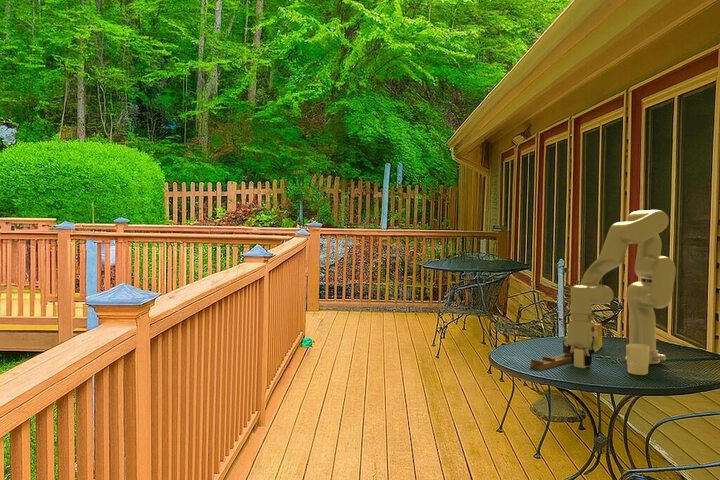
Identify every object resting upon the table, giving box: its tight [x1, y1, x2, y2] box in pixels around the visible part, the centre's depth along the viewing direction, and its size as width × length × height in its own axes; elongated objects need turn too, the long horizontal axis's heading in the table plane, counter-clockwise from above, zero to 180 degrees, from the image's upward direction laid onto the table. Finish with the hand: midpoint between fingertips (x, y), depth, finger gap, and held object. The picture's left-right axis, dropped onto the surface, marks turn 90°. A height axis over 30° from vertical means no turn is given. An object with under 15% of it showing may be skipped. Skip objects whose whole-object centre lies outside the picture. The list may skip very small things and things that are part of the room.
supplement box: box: [592, 322, 603, 351], centre depth 261 cm, size 6×6×11 cm
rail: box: [530, 336, 572, 371], centre depth 234 cm, size 5×29×9 cm, turn 128°
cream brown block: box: [573, 347, 590, 369], centre depth 228 cm, size 4×5×7 cm
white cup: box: [625, 343, 650, 376], centre depth 217 cm, size 8×8×10 cm
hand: (581, 364), depth 228 cm, fingers open, 4 cm apart
